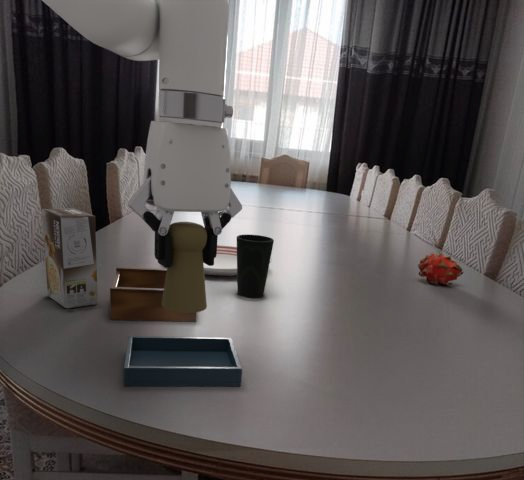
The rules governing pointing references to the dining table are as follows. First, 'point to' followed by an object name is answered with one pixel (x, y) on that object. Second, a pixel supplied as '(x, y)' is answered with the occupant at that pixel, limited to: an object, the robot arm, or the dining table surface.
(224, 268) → the dinner plate
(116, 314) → the brown wooden open box
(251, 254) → the cup
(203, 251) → the robot arm
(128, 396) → the dining table surface
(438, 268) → the dragon fruit
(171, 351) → the tray
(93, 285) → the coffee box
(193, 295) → the cork
